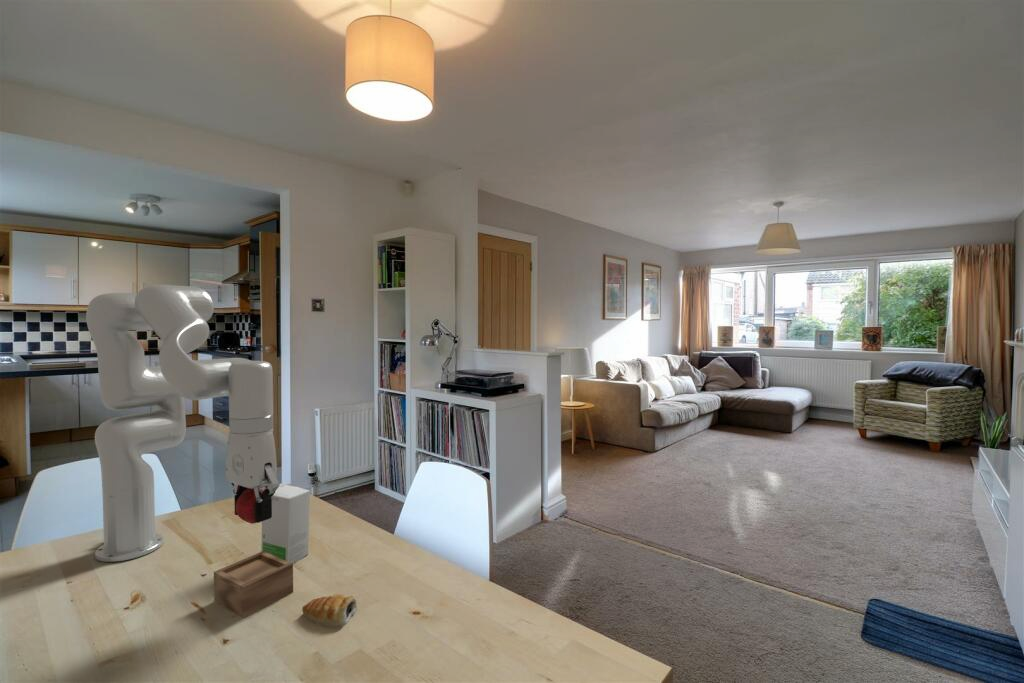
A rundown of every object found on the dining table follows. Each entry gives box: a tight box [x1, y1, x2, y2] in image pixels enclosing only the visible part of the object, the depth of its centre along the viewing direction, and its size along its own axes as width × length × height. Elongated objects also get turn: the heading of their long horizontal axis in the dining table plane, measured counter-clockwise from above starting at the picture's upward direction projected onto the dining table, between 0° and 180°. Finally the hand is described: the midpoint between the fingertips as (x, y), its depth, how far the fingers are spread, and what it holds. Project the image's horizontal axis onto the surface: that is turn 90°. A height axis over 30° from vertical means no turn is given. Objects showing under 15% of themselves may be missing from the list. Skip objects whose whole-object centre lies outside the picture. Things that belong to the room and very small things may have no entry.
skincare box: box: [260, 484, 311, 565], centre depth 111 cm, size 8×7×16 cm
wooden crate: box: [213, 551, 294, 619], centre depth 96 cm, size 10×10×6 cm
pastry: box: [301, 593, 358, 628], centre depth 90 cm, size 9×7×4 cm
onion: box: [236, 488, 265, 525], centre depth 95 cm, size 6×6×8 cm
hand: (253, 515), depth 95 cm, fingers closed on onion, 5 cm apart
